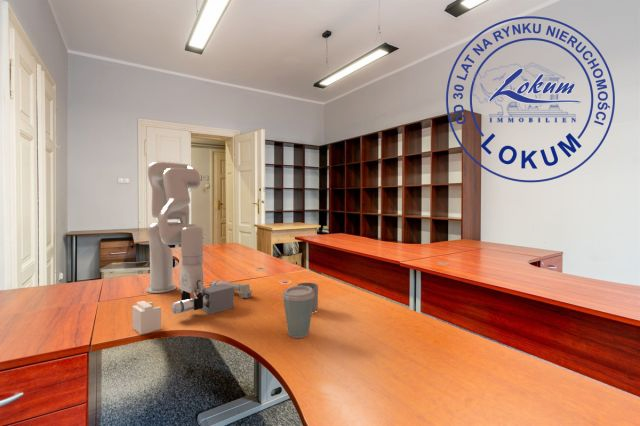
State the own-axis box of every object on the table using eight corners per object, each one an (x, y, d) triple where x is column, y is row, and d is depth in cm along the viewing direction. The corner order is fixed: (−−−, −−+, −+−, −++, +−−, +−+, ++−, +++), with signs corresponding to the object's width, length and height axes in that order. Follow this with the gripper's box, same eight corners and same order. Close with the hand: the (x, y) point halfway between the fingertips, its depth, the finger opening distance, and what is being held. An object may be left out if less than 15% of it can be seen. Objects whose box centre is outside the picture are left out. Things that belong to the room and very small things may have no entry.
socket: (132, 327, 106) (132, 303, 105) (152, 322, 110) (152, 298, 110) (140, 334, 101) (140, 308, 100) (161, 328, 105) (161, 304, 105)
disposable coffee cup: (301, 344, 96) (302, 296, 95) (274, 335, 102) (275, 290, 101) (319, 332, 105) (320, 288, 104) (294, 324, 111) (294, 282, 110)
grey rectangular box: (201, 309, 123) (201, 288, 123) (224, 303, 131) (224, 283, 131) (210, 314, 119) (210, 292, 118) (233, 307, 126) (233, 287, 126)
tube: (171, 312, 113) (171, 301, 113) (226, 298, 130) (226, 288, 130) (176, 315, 111) (176, 304, 110) (231, 300, 127) (231, 290, 127)
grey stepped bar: (217, 279, 155) (253, 280, 141) (218, 293, 154) (254, 295, 140) (208, 281, 150) (244, 283, 136) (209, 295, 150) (246, 298, 136)
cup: (320, 308, 128) (321, 284, 127) (311, 315, 120) (312, 289, 120) (302, 305, 131) (303, 281, 131) (292, 311, 124) (293, 286, 123)
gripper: (171, 257, 119) (171, 302, 120) (193, 265, 107) (193, 314, 108) (190, 255, 124) (190, 298, 125) (213, 262, 113) (213, 309, 114)
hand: (192, 305), depth 117 cm, fingers open, 9 cm apart
